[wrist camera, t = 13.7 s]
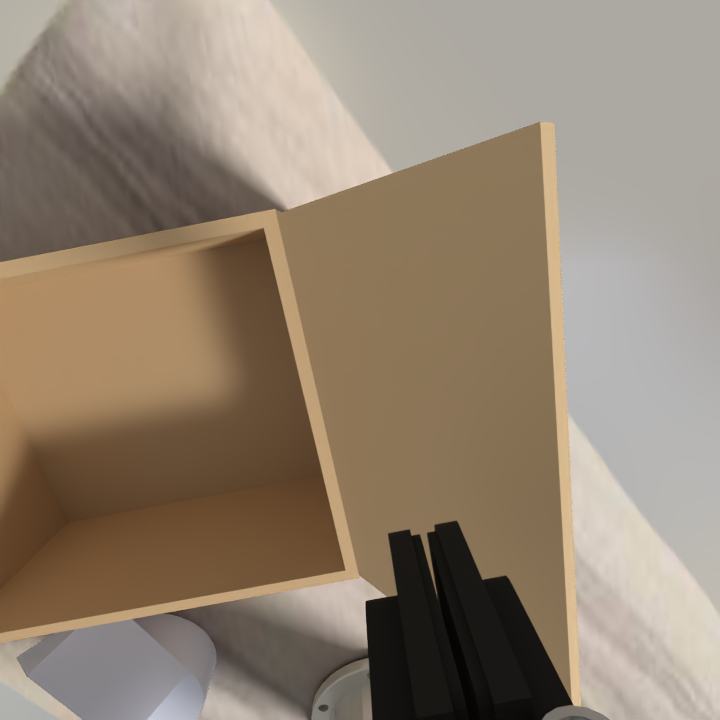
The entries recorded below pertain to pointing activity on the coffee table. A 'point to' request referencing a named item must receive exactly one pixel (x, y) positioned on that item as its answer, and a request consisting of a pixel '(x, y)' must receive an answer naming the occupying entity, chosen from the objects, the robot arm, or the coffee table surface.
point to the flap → (449, 366)
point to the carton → (159, 431)
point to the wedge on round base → (127, 669)
